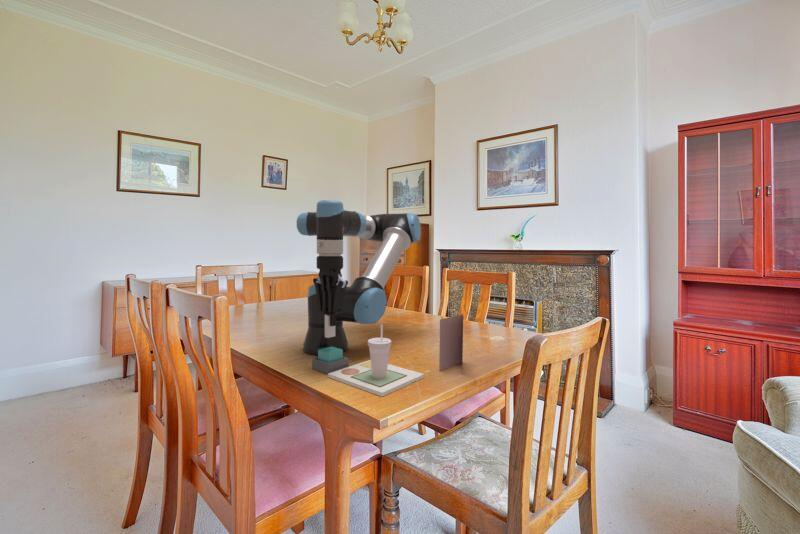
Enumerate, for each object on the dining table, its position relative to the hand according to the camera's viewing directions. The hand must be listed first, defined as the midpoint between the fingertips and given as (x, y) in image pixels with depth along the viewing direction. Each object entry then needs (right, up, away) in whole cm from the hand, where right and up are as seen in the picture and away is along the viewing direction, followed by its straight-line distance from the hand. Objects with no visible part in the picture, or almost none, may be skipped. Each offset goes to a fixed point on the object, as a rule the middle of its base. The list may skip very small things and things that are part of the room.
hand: (330, 336), depth 108 cm
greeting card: (+38, -10, +2) cm, 39 cm away
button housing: (0, -10, +1) cm, 10 cm away
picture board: (+14, -10, -6) cm, 18 cm away
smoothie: (+15, -9, -8) cm, 19 cm away
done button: (0, -7, +1) cm, 7 cm away
